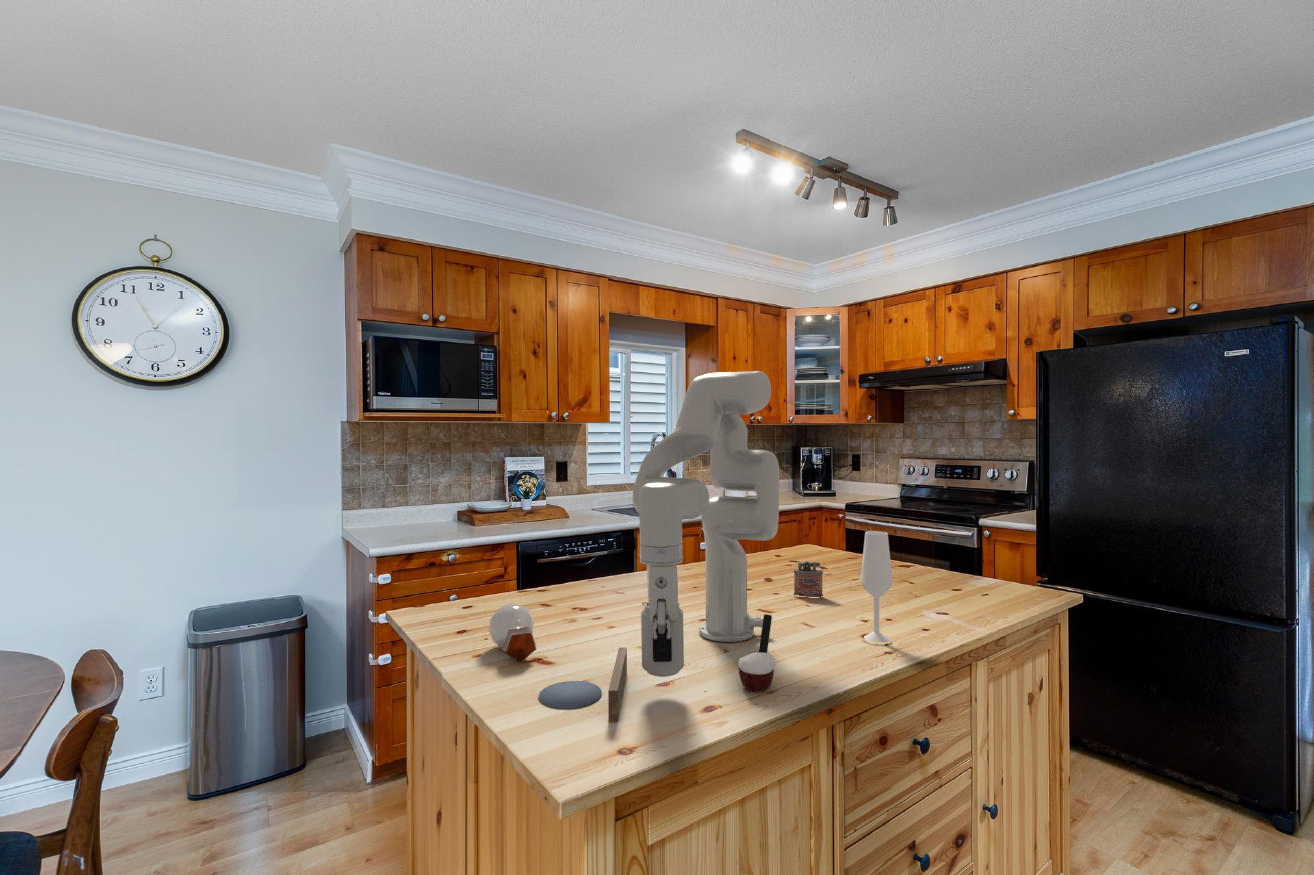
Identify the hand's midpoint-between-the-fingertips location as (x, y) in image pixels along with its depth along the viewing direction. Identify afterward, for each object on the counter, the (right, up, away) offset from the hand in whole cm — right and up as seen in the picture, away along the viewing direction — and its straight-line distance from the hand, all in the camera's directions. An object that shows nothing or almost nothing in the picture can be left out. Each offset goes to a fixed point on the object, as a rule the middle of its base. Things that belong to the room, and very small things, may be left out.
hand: (662, 651), depth 110 cm
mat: (-16, -8, 0) cm, 18 cm away
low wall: (-8, -8, -1) cm, 11 cm away
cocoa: (+17, -8, +3) cm, 19 cm away
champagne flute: (+48, -7, +28) cm, 56 cm away
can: (0, -4, 0) cm, 4 cm away
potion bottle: (-31, -8, +22) cm, 39 cm away
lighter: (+42, -7, +65) cm, 78 cm away
